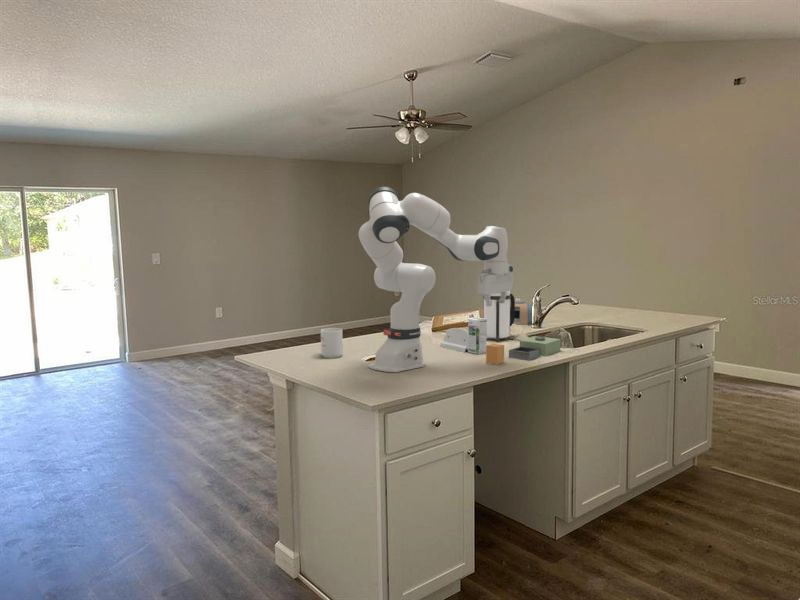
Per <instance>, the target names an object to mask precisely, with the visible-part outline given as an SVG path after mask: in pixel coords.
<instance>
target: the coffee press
mask: <svg viewBox="0 0 800 600" xmlns="http://www.w3.org/2000/svg"><path fill="white" fill-rule="evenodd" d="M500 297H501V294H500V293H495V294H491V297H490V300H491V301H492V306H486V301H485V298H484V295H482V312H483V319H487V338H489V339H495V343H500V339H505V338H508V339H509V340H510V341H511V340H513V336H512V334H511V326H512V324H513V322H514V318H515V301H516V300H515V296H514V294H512V293H511V291H507V295H506V298H505V303H499V299H500ZM510 303H511V319H510ZM509 336H511V338H510V337H509Z"/></svg>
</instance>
